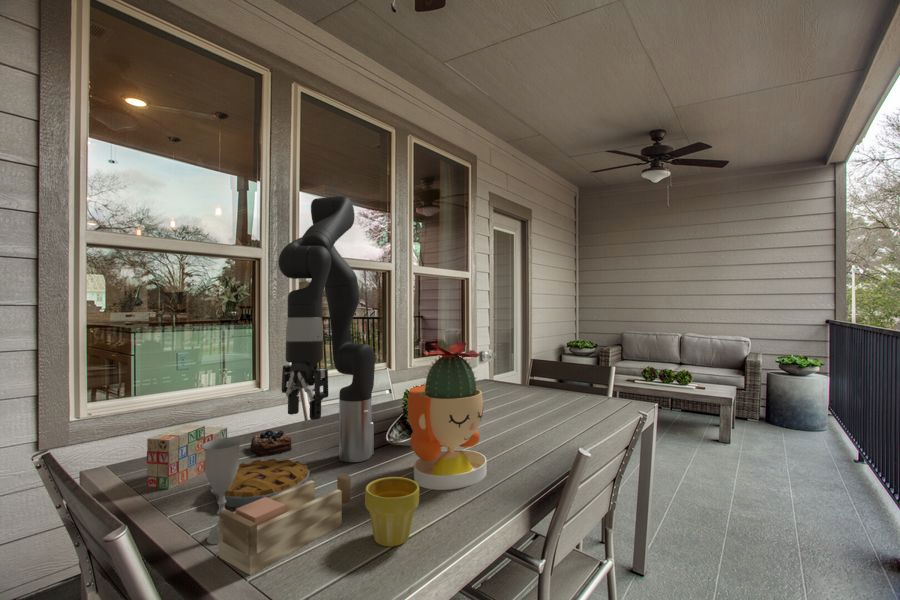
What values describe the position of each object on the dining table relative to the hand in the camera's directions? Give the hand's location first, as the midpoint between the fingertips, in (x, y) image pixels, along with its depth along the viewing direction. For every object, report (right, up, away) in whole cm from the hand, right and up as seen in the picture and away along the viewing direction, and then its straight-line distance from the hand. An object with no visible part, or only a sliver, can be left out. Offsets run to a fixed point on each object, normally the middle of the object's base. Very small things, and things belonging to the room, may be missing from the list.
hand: (303, 416), depth 93 cm
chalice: (-13, -21, -8) cm, 26 cm away
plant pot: (+20, -21, -8) cm, 30 cm away
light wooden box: (-1, -21, -9) cm, 23 cm away
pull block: (+2, -19, -5) cm, 20 cm away
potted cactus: (+29, -22, +25) cm, 44 cm away
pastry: (-25, -22, +44) cm, 55 cm away
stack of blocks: (-38, -22, +25) cm, 51 cm away
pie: (-15, -22, +14) cm, 30 cm away
